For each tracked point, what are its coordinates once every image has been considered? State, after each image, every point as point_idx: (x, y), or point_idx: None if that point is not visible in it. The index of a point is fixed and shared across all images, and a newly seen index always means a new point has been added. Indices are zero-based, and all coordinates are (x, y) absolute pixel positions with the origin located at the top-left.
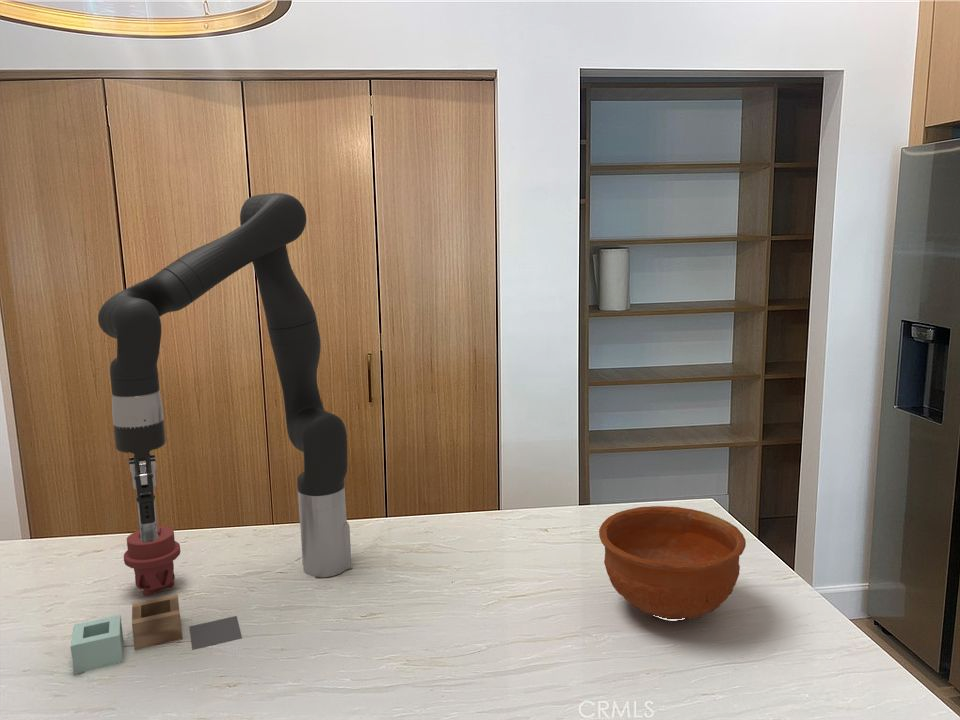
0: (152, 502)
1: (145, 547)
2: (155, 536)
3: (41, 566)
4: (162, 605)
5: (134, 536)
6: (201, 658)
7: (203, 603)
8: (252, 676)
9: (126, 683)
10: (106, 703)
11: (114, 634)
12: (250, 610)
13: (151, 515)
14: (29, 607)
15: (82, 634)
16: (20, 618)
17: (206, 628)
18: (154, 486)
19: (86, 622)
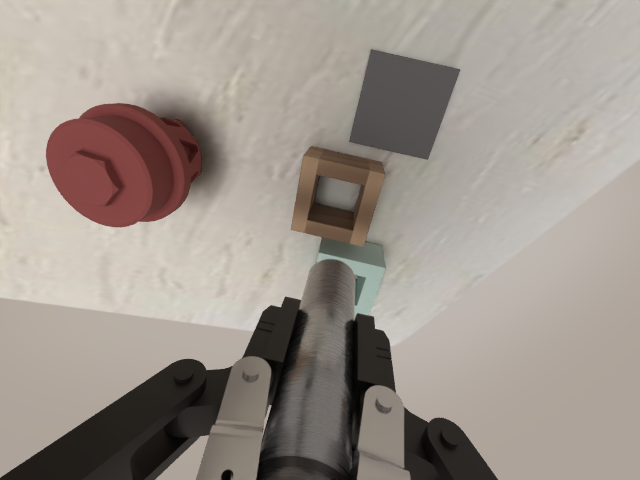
0: (376, 382)
1: (156, 198)
2: (349, 274)
3: (34, 270)
4: (314, 184)
5: (97, 210)
6: (458, 152)
7: (276, 92)
8: (587, 96)
9: (435, 253)
10: (461, 279)
11: (377, 272)
12: (363, 11)
13: (388, 350)
14: (158, 300)
15: None
16: (185, 312)
17: (377, 117)
18: (406, 472)
19: None
